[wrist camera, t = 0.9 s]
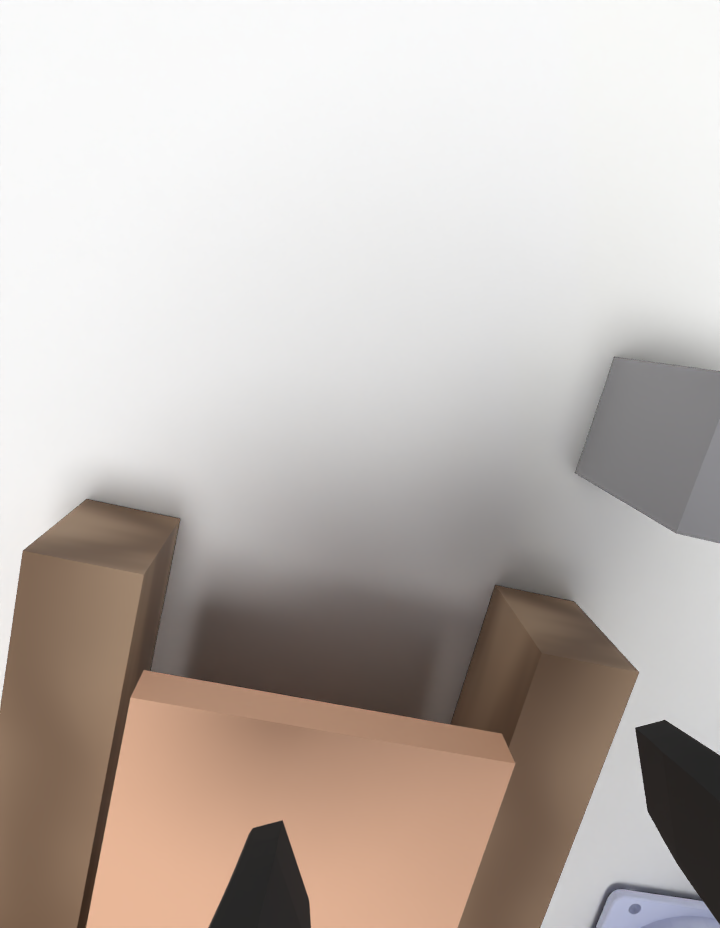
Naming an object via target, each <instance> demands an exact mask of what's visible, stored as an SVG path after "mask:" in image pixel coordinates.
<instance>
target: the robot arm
mask: <svg viewBox="0 0 720 928" xmlns="http://www.w3.org/2000/svg"><path fill="white" fill-rule="evenodd" d="M635 729H636V736H637V743H638V749H639V756H640V763H641V769H642V776H643V783H644V790H645V796H646V803H647V810H648V813H649V814H650V816H651V818H652V820H653V822H654V823H655V825H656V827H657V829H658V831H659V833H660V834H661V836H662V838H663V840H664V842H665V843H666V845H667V847H668V849H669V850H670V852H671V854H672V855H673V857H674V859H675V861H676V862H677V864H678V866H679V867H680V869H681V870H682V872H683V873H684V874H685V876H686V877H687V879H688V880H689V882H690V883H691V885H692V886H693V887H694V889H695V890H696V892H697V893H698V895H699V896H700V897H701V899H702V900H703V901H699V900H692V899H685V898H678V897H672V896H665V895H658V894H651V893H644V892H638V891H631V890H624V889H618V890H615V891H613V892H612V893H611V894H610V895H609V897H608V899H607V901H606V904H605V906H604V908H603V911H602V913H601V916H600V918H599V921H598V923H597V925H596V928H720V755H718V754H717V753H715V752H714V751H712V750H711V749H709V748H707V747H706V746H704V745H703V744H701V743H700V742H698V741H697V740H695V739H694V738H692V737H691V736H689V735H687V734H686V733H684V732H683V731H681V730H680V729H678V728H677V727H675V726H673V725H672V724H670V723H669V722H667V721H666V720H663V721H659V722H656V723H652V724H648V725H644V726H640V727H636V728H635ZM208 928H311V919H310V904H309V898H308V895H307V892H306V889H305V886H304V883H303V880H302V877H301V874H300V871H299V868H298V865H297V862H296V859H295V856H294V853H293V850H292V847H291V844H290V841H289V838H288V835H287V832H286V829H285V826H284V823H283V820H281V821H277V822H274V823H270V824H266V825H262V826H258V827H255V828H252V830H251V831H250V833H249V835H248V837H247V840H246V842H245V845H244V847H243V850H242V852H241V854H240V857H239V859H238V862H237V864H236V867H235V869H234V871H233V874H232V876H231V878H230V881H229V883H228V885H227V888H226V890H225V892H224V895H223V897H222V899H221V901H220V903H219V906H218V908H217V910H216V912H215V914H214V916H213V918H212V921H211V923H210V925H209V927H208Z"/></svg>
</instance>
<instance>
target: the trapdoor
mask: <svg viewBox="0 0 720 928" xmlns="http://www.w3.org/2000/svg"><path fill="white" fill-rule="evenodd" d="M514 766H515V762H514V759H513V757H512V755H511V753H510V751H509V748H508V746H507V744H506V742H505V739H504V737H503V735H502V734H501V733H495V732H490V731H484V730H478V729H473V728H467V727H462V726H456V725H450V724H445V723H439V722H433V721H428V720H422V719H417V718H411V717H405V716H400V715H394V714H388V713H383V712H377V711H372V710H366V709H360V708H355V707H349V706H343V705H338V704H332V703H327V702H321V701H315V700H310V699H304V698H298V697H293V696H287V695H282V694H276V693H270V692H265V691H259V690H253V689H248V688H242V687H237V686H231V685H225V684H220V683H214V682H208V681H203V680H197V679H192V678H186V677H180V676H175V675H169V674H163V673H158V672H152V671H147V670H143V672H142V675H141V677H140V679H139V681H138V683H137V685H136V687H135V689H134V691H133V693H132V696H131V698H130V703H129V708H128V713H127V718H126V724H125V729H124V734H123V739H122V744H121V749H120V755H119V760H118V765H117V770H116V775H115V781H114V786H113V791H112V796H111V801H110V806H109V812H108V817H107V822H106V827H105V832H104V837H103V843H102V848H101V853H100V858H99V863H98V868H97V874H96V879H95V884H94V889H93V894H92V900H91V905H90V910H89V915H88V920H87V925H86V928H208V927H209V925H210V923H211V921H212V918H213V916H214V914H215V912H216V910H217V908H218V906H219V903H220V901H221V899H222V897H223V895H224V892H225V890H226V888H227V885H228V883H229V881H230V878H231V876H232V874H233V871H234V869H235V867H236V864H237V862H238V859H239V857H240V854H241V852H242V850H243V847H244V845H245V842H246V840H247V837H248V835H249V833H250V831H251V830H252V828H255V827H258V826H262V825H266V824H270V823H274V822H277V821H281V820H283V823H284V826H285V829H286V832H287V835H288V838H289V841H290V844H291V847H292V850H293V853H294V856H295V859H296V862H297V865H298V868H299V871H300V874H301V877H302V880H303V883H304V886H305V889H306V892H307V895H308V898H309V904H310V919H311V928H458V925H459V922H460V919H461V917H462V914H463V911H464V908H465V905H466V902H467V900H468V897H469V894H470V891H471V888H472V885H473V883H474V880H475V877H476V874H477V871H478V868H479V866H480V863H481V860H482V857H483V854H484V851H485V848H486V846H487V843H488V840H489V837H490V834H491V831H492V829H493V826H494V823H495V820H496V817H497V814H498V812H499V809H500V806H501V803H502V800H503V797H504V795H505V792H506V789H507V786H508V783H509V780H510V778H511V775H512V772H513V769H514Z"/></svg>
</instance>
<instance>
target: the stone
mask: <svg viewBox="0 0 720 928" xmlns="http://www.w3.org/2000/svg"><path fill="white" fill-rule="evenodd" d="M575 473H576V474H578V475H579V476H581V477H583V478H584V479H586V480H588V481H589V482H591V483H593V484H594V485H596V486H598V487H599V488H601V489H603V490H605V491H606V492H608V493H610V494H611V495H613V496H615V497H616V498H618V499H620V500H621V501H623V502H625V503H626V504H628V505H630V506H631V507H633V508H635V509H636V510H638V511H640V512H641V513H643V514H645V515H646V516H648V517H650V518H651V519H653V520H655V521H656V522H658V523H660V524H661V525H663V526H665V527H666V528H668V529H670V530H671V531H673V532H675V533H677V534H682V535H686V536H690V537H695V538H699V539H703V540H708V541H712V542H716V543H720V371H714V370H706V369H699V368H692V367H684V366H677V365H670V364H662V363H655V362H647V361H640V360H633V359H625V358H618V357H614V359H613V362H612V365H611V368H610V371H609V374H608V377H607V380H606V383H605V386H604V389H603V392H602V395H601V398H600V401H599V404H598V406H597V409H596V412H595V415H594V418H593V421H592V424H591V427H590V430H589V433H588V436H587V439H586V442H585V445H584V448H583V451H582V454H581V457H580V460H579V463H578V466H577V469H576V472H575Z"/></svg>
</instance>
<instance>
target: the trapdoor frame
mask: <svg viewBox="0 0 720 928" xmlns="http://www.w3.org/2000/svg"><path fill="white" fill-rule="evenodd" d="M179 523H180V519H179V518H174V517H170V516H165V515H160V514H155V513H151V512H146V511H141V510H136V509H131V508H127V507H122V506H117V505H112V504H108V503H103V502H98V501H93V500H89V499H86V500H85V501H84V502H82V503H81V504H80V505H79V506H78V507H76V508H75V509H74V510H73V511H71V512H70V513H69V514H68V515H66V516H65V517H64V518H63V519H61V520H60V521H59V522H58V523H57V524H55V525H54V526H53V527H52V528H50V529H49V530H48V531H47V532H45V533H44V534H43V535H42V536H40V537H39V538H38V539H37V540H36V541H34V542H33V543H32V544H31V545H29V546H28V547H27V548H26V549H24V550H23V553H22V560H21V567H20V574H19V581H18V588H17V595H16V602H15V609H14V616H13V623H12V630H11V637H10V644H9V651H8V658H7V665H6V672H5V679H4V686H3V693H2V700H1V707H0V928H86V925H87V920H88V915H89V910H90V905H91V900H92V894H93V889H94V884H95V879H96V874H97V868H98V863H99V858H100V853H101V848H102V843H103V837H104V832H105V827H106V822H107V817H108V812H109V806H110V801H111V796H112V791H113V786H114V781H115V775H116V770H117V765H118V760H119V755H120V749H121V744H122V739H123V734H124V729H125V724H126V718H127V713H128V708H129V703H130V698H131V696H132V693H133V691H134V689H135V687H136V685H137V683H138V681H139V679H140V677H141V675H142V672H143V670H147V671H150V669H151V664H152V659H153V654H154V649H155V644H156V639H157V634H158V629H159V624H160V619H161V614H162V609H163V604H164V599H165V593H166V588H167V583H168V578H169V573H170V568H171V563H172V558H173V553H174V548H175V543H176V538H177V533H178V528H179ZM638 674H639V672H638V671H637V669H636V668H635V667H634V666H633V665H632V664H631V663H630V662H629V661H628V660H627V659H626V657H625V656H624V655H623V654H622V653H621V652H620V651H619V650H618V649H617V648H616V647H615V645H614V644H613V643H612V642H611V641H610V640H609V639H608V638H607V637H606V636H605V635H604V633H603V632H602V631H601V630H600V629H599V628H598V627H597V626H596V625H595V624H594V623H593V621H592V620H591V619H590V618H589V617H588V616H587V615H586V614H585V613H584V612H583V611H582V609H581V608H580V607H579V606H578V605H577V604H576V603H575V602H574V601H569V600H564V599H560V598H555V597H550V596H545V595H540V594H536V593H531V592H526V591H521V590H517V589H512V588H507V587H502V586H498V585H495V588H494V591H493V594H492V597H491V600H490V603H489V606H488V610H487V613H486V616H485V619H484V622H483V625H482V628H481V631H480V634H479V638H478V641H477V644H476V647H475V650H474V653H473V656H472V659H471V662H470V666H469V669H468V672H467V675H466V678H465V681H464V684H463V687H462V690H461V694H460V697H459V700H458V703H457V706H456V709H455V712H454V715H453V718H452V722H451V725H456V726H462V727H467V728H473V729H478V730H484V731H490V732H495V733H501V734H502V735H503V737H504V739H505V742H506V744H507V746H508V748H509V751H510V753H511V755H512V757H513V759H514V762H515V766H514V769H513V772H512V775H511V778H510V780H509V783H508V786H507V789H506V792H505V795H504V797H503V800H502V803H501V806H500V809H499V812H498V814H497V817H496V820H495V823H494V826H493V829H492V831H491V834H490V837H489V840H488V843H487V846H486V848H485V851H484V854H483V857H482V860H481V863H480V866H479V868H478V871H477V874H476V877H475V880H474V883H473V885H472V888H471V891H470V894H469V897H468V900H467V902H466V905H465V908H464V911H463V914H462V917H461V919H460V922H459V925H458V928H540V927H541V924H542V922H543V919H544V916H545V914H546V911H547V909H548V906H549V904H550V901H551V898H552V896H553V893H554V891H555V888H556V885H557V883H558V880H559V878H560V875H561V873H562V870H563V867H564V865H565V862H566V860H567V857H568V855H569V852H570V849H571V847H572V844H573V842H574V839H575V836H576V834H577V831H578V829H579V826H580V824H581V821H582V818H583V816H584V813H585V811H586V808H587V806H588V803H589V800H590V798H591V795H592V793H593V790H594V787H595V785H596V782H597V780H598V777H599V775H600V772H601V769H602V767H603V764H604V762H605V759H606V757H607V754H608V751H609V749H610V746H611V744H612V741H613V738H614V736H615V733H616V731H617V728H618V726H619V723H620V720H621V718H622V715H623V713H624V710H625V707H626V705H627V702H628V700H629V697H630V695H631V692H632V689H633V687H634V684H635V682H636V679H637V677H638Z"/></svg>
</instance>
